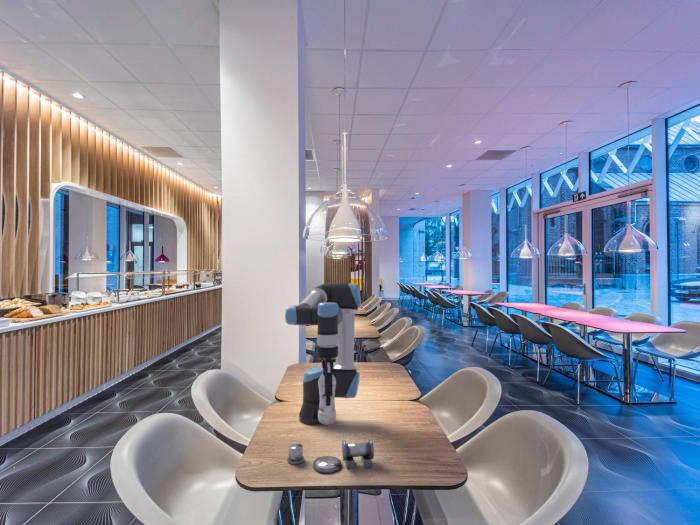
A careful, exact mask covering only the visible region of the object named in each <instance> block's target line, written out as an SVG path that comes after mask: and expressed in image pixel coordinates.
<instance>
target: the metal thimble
mask: <svg viewBox="0 0 700 525" xmlns="http://www.w3.org/2000/svg"><path fill="white" fill-rule="evenodd" d="M303 447H304V446H303V444H302V443H301V444H300V443H293V444H292V443H291V444H290V445H289V446H288V457H287V458H286V459H287V460H286V462H287V464H289V465H293V466H297V465H298V466H299V465H300V464H303V463H304V462H305V461H304V460H305V457H304V455H303V454H304V453H303V450H304V448H303Z"/></svg>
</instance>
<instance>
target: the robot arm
mask: <svg viewBox="0 0 700 525" xmlns="http://www.w3.org/2000/svg"><path fill="white" fill-rule="evenodd" d="M361 307H362V298H361V291H360V287H359V284H357V283H351V282H346V283H345V282H337V283H336V282H333V283H332V282H329V283H328V282H327V283H323V284H320V285H317V286H316V287H314V288H312V289H311V290H309V292H308V295H307V297H305V298H304V299H303V300H302V301H301V302H299V304H297V305H295V304H294V305H288V306H287V307H286V309H285V314H284V316H285V317H284V318H285V319H284V320H285V323H286V324H287V325H291V326H317V337H316V338H317V339H316V340H317V342H316V345H317V350H316V353H317V354H316V356H317V357H318V358H320V359H322V361H321V366H318V367H313V368H309V369H307V370H305V371H304V373H303V377H302V379H303V380H302V403H301V408H300V411H299V414H298V421H299V422H300V423H303V424H306V425H309V426H310V425H313V426H317V425H322V424H321V423H320V422H319V420H318V411H319V403H320V395H319V386H318V380H319V378H320V376H321V375H322V373H323V375H324V376H325V394H323V396H324V415H332V395H333V393H332V375H333V376H334V377H335V379H336V388H335V399H337V398H338V399H353V398H354V399H355V398H356V397H357V395H358V391H359V387H360V386H359V384H360V377H361V372H358V370H357V369H358V368H357V367H356V366H355V364H354V363H355V362H354V360H355V325H356V324H355V321H356V319H355V316H356V313H358V311H359V308H361ZM332 359H335V363H334V362H333V360H332ZM322 368H323V372H322Z"/></svg>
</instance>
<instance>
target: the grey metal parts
mask: <svg viewBox="0 0 700 525" xmlns="http://www.w3.org/2000/svg"><path fill="white" fill-rule="evenodd" d="M341 451H342V461H343V462H345V465H346V470H354V469H355V459H354V458H359V457H360V460H361V463H362V466H363V468H364V469H371V468H372V460H373V459H374V458H375V446H374V442H373V439H372V438H370V439H368V442H354V443H352V442H351V443H350V442H349V443H347V442H346V440H342V444H341ZM342 461H341V459H340V458H337V457H335V456H332V455H331V456H329V455H326V456H325V455H324V456H321V457H317V458H316V459H314V461H313V463H312V469H313V470H314V471H315V472H316V473H320V474H323V475H328V474H334V473H336V472H339V471H340V470H341V468H342Z"/></svg>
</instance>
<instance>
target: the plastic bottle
mask: <svg viewBox="0 0 700 525" xmlns="http://www.w3.org/2000/svg"><path fill="white" fill-rule="evenodd" d="M322 372H323V368H322ZM318 386H319V395H320V403H319V411H318V420H319V422H320V423H321V424H320V425H327V426H328V425H332V424H335V422H336V419H337V411H336V404H335V402H336V401H335V399H336V398H335V388H336V379H335V377H334V376H333V375H332V393H333V395H332V415H324V396H323V394H325V376H324V375H323V373H322V375H321V376H320V378H319V380H318Z"/></svg>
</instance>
